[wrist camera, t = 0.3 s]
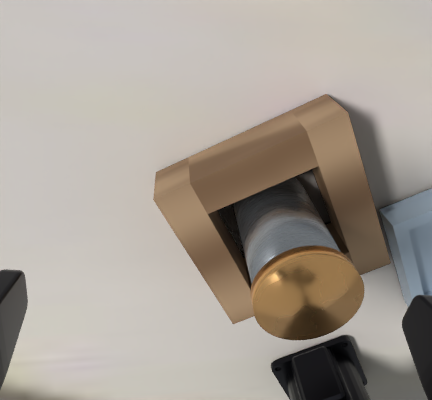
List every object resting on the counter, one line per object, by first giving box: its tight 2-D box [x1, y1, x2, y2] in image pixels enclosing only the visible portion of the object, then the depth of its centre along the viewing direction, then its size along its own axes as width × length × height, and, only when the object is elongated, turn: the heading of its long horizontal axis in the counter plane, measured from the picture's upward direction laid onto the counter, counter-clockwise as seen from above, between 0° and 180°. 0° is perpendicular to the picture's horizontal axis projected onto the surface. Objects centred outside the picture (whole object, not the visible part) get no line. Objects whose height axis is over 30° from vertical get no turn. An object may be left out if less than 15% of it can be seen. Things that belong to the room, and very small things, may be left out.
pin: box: [234, 177, 364, 340], centre depth 20 cm, size 5×5×8 cm
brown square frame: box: [153, 94, 391, 324], centre depth 22 cm, size 10×10×3 cm
